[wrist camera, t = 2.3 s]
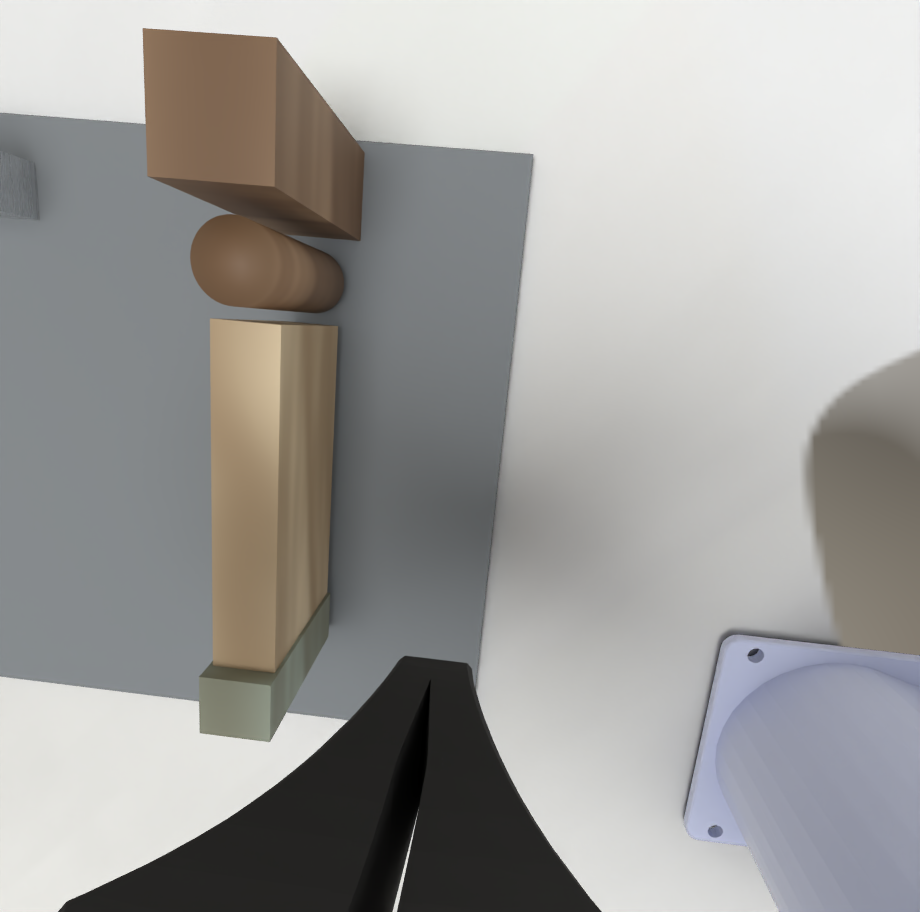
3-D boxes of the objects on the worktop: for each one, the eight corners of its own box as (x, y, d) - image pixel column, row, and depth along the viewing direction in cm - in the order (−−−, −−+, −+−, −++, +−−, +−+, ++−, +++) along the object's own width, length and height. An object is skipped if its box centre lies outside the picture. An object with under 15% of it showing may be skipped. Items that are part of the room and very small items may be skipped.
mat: (532, 158, 16) (533, 154, 16) (470, 727, 21) (470, 735, 20) (-124, 107, 17) (-139, 102, 17) (-54, 662, 22) (-64, 668, 21)
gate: (345, 252, 16) (276, 217, 11) (329, 634, 19) (268, 744, 14) (284, 246, 17) (189, 210, 11) (277, 628, 19) (197, 735, 14)
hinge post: (367, 156, 17) (276, 37, 10) (363, 242, 17) (274, 186, 10) (287, 150, 17) (142, 27, 10) (285, 236, 17) (147, 176, 10)
